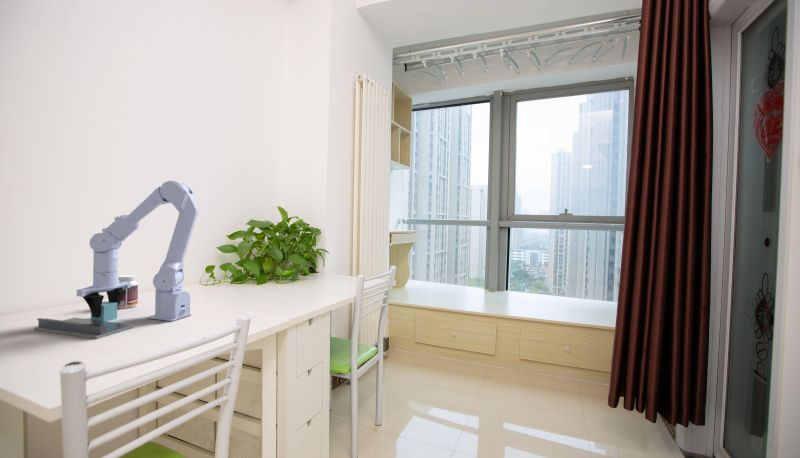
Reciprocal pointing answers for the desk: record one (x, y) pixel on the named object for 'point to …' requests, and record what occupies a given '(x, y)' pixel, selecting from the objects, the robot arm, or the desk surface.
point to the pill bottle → (129, 292)
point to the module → (107, 312)
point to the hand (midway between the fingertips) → (104, 314)
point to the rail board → (87, 321)
